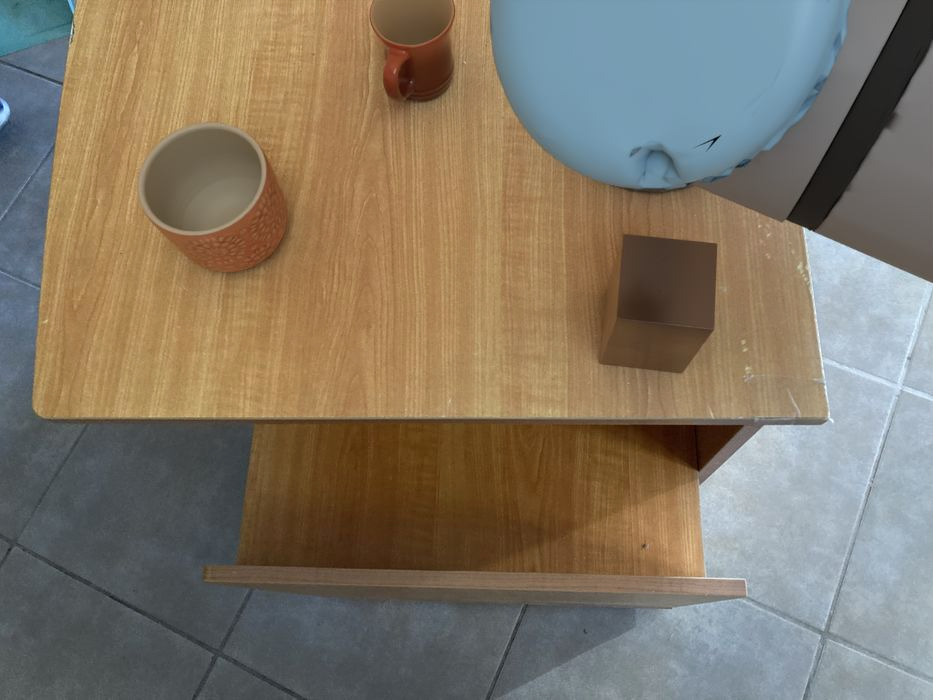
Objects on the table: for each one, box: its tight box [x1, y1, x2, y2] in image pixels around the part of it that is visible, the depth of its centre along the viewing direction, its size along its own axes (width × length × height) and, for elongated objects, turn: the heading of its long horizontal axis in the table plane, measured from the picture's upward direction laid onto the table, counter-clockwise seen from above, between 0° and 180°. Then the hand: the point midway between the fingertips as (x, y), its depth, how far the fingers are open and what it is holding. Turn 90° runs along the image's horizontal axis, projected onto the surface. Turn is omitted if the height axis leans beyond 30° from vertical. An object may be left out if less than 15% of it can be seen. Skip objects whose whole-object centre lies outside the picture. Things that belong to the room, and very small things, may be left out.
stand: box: [599, 233, 718, 374], centre depth 70 cm, size 8×8×12 cm
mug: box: [368, 0, 456, 102], centre depth 82 cm, size 12×9×10 cm
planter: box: [136, 121, 288, 273], centre depth 76 cm, size 12×12×11 cm
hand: (773, 34), depth 48 cm, fingers closed on pestle, 3 cm apart
